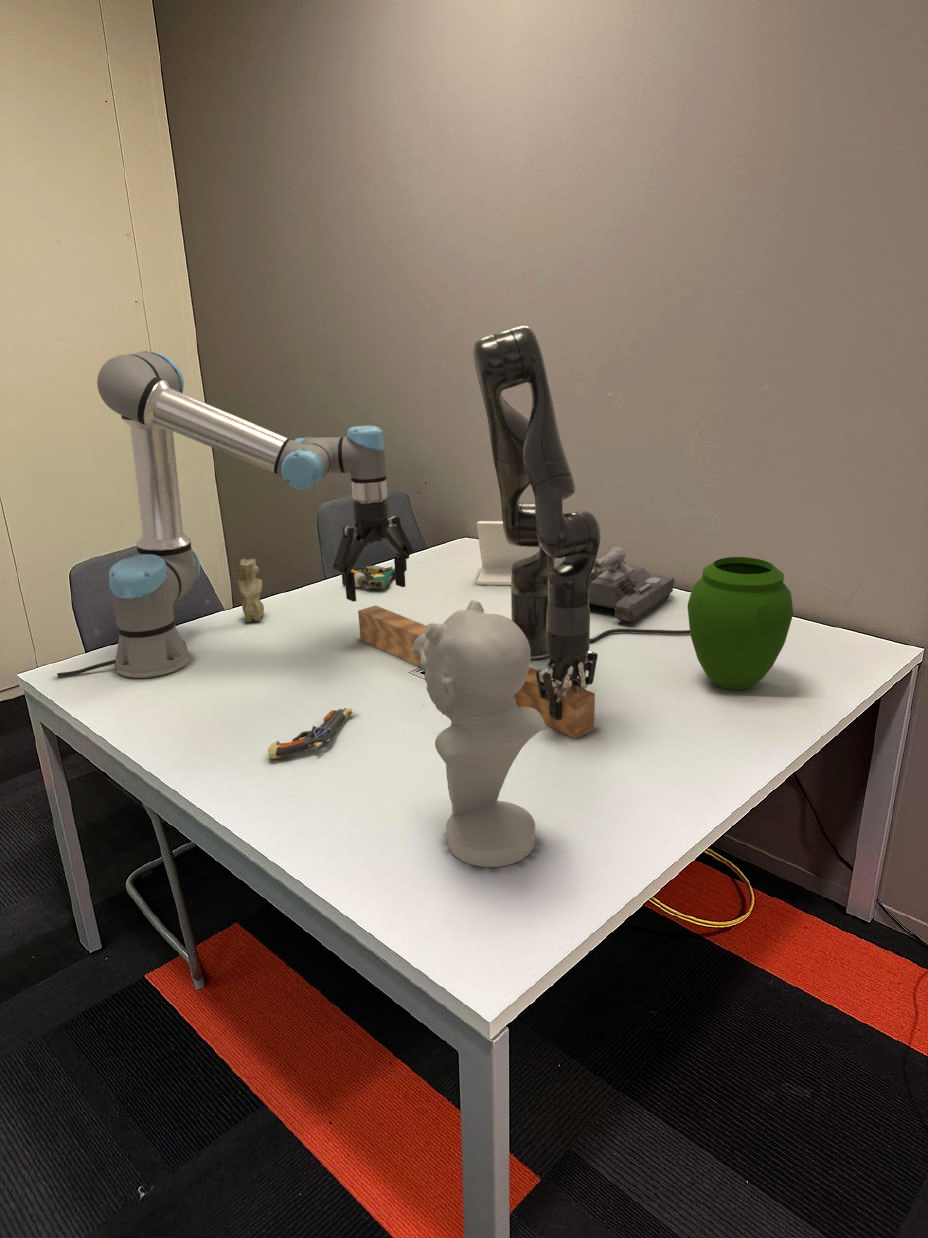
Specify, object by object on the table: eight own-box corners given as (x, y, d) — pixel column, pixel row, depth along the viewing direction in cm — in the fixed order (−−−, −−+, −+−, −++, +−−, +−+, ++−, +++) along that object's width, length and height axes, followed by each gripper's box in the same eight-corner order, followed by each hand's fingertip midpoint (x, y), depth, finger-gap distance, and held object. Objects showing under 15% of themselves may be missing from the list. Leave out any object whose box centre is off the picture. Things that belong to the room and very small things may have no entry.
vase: (795, 674, 173) (808, 558, 164) (770, 712, 157) (784, 587, 149) (700, 656, 183) (708, 546, 174) (668, 690, 167) (675, 571, 159)
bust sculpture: (481, 772, 140) (476, 569, 128) (565, 848, 120) (569, 617, 108) (392, 800, 134) (378, 588, 121) (465, 886, 114) (457, 642, 101)
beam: (594, 729, 154) (595, 693, 151) (575, 738, 151) (576, 702, 148) (377, 634, 200) (375, 605, 198) (360, 639, 197) (358, 610, 195)
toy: (603, 584, 229) (605, 530, 224) (673, 597, 218) (677, 540, 213) (555, 612, 210) (556, 553, 205) (630, 627, 199) (633, 566, 194)
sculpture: (268, 613, 216) (261, 555, 210) (263, 623, 209) (256, 564, 204) (245, 614, 215) (238, 556, 210) (239, 624, 209) (232, 565, 203)
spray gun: (366, 572, 247) (411, 580, 241) (334, 586, 233) (382, 594, 227) (366, 558, 246) (412, 565, 240) (334, 571, 232) (382, 579, 226)
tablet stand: (569, 585, 229) (570, 524, 223) (476, 584, 232) (475, 523, 226) (570, 566, 246) (571, 508, 240) (484, 564, 249) (483, 507, 243)
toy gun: (263, 749, 145) (318, 746, 143) (303, 706, 163) (352, 703, 161) (266, 763, 146) (321, 761, 144) (306, 719, 164) (355, 716, 161)
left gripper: (405, 487, 194) (409, 576, 202) (311, 506, 179) (320, 602, 187) (426, 492, 189) (430, 583, 197) (330, 512, 174) (339, 610, 181)
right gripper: (579, 610, 155) (577, 695, 161) (523, 631, 147) (523, 719, 153) (611, 620, 150) (608, 707, 156) (555, 642, 141) (554, 734, 147)
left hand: (376, 592), depth 192 cm, fingers open, 13 cm apart
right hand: (566, 713), depth 154 cm, fingers closed on beam, 5 cm apart
